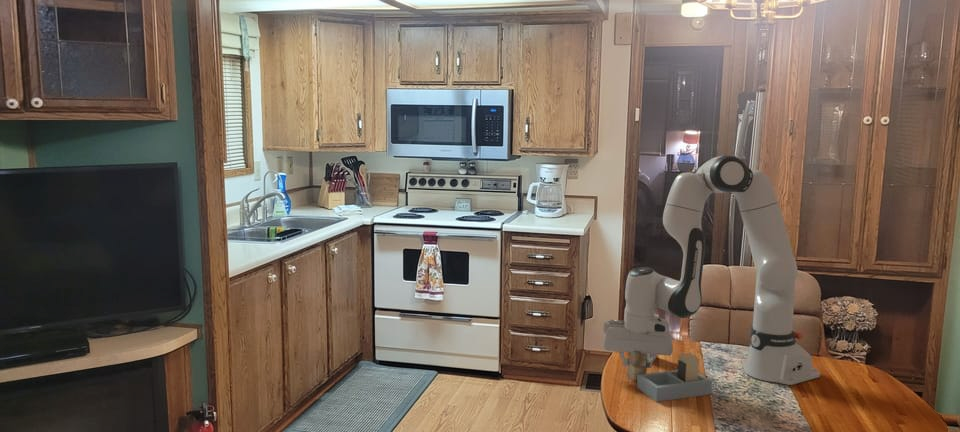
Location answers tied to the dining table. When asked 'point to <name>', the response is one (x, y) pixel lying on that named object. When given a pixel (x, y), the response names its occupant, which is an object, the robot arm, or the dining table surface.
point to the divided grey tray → (676, 381)
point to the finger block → (636, 364)
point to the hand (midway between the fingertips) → (637, 366)
